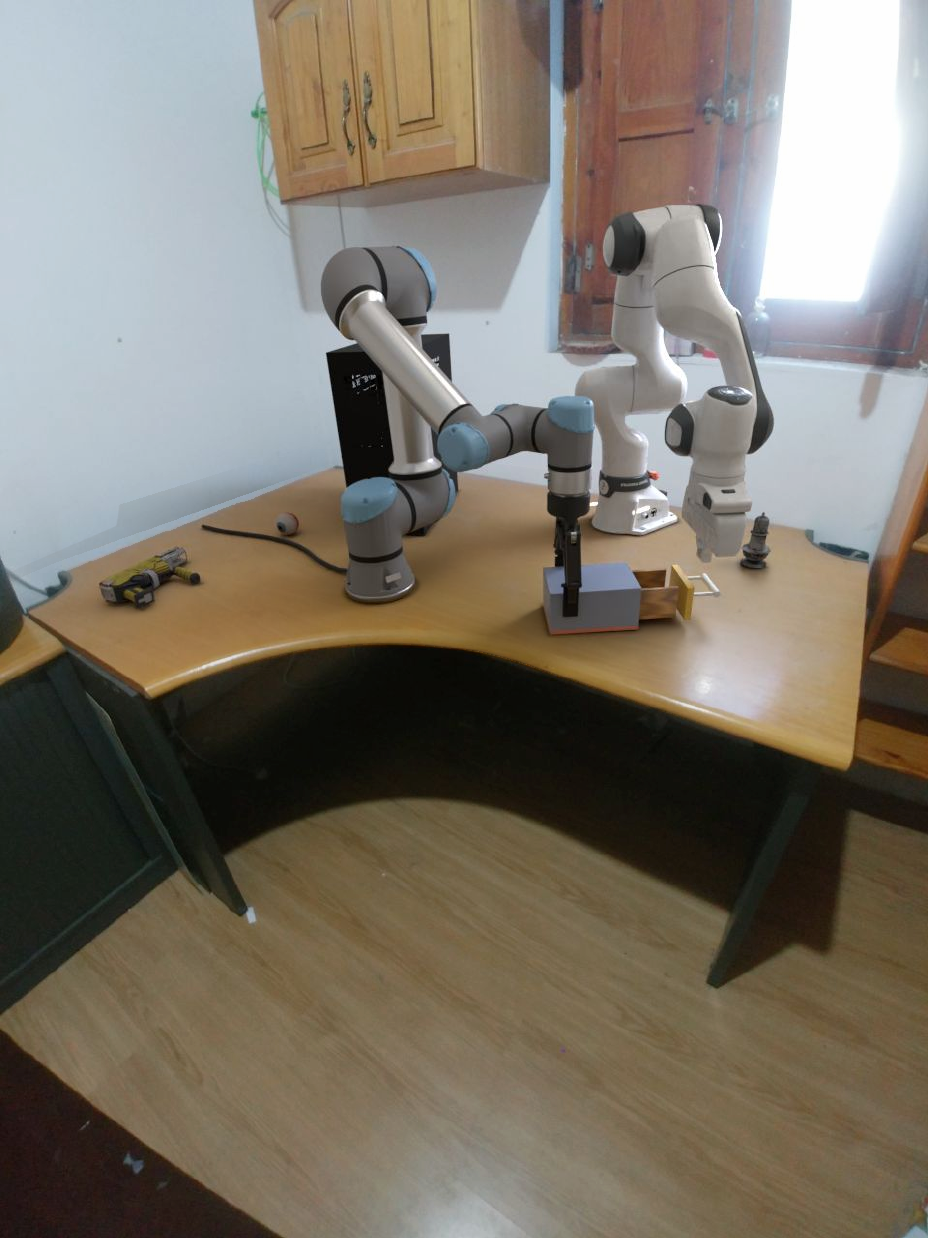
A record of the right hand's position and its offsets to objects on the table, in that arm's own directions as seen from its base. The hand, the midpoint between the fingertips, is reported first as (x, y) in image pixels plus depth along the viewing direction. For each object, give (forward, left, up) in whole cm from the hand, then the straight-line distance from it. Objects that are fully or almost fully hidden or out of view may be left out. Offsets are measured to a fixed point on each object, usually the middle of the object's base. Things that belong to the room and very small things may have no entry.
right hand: (703, 559), depth 112 cm
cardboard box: (+27, -86, -11) cm, 91 cm away
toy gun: (+94, -69, -11) cm, 118 cm away
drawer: (+7, -3, -10) cm, 13 cm away
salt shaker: (-27, -10, -11) cm, 31 cm away
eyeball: (+63, -86, -11) cm, 107 cm away
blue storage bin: (+19, -9, -11) cm, 23 cm away
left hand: (+23, -11, -7) cm, 26 cm away
